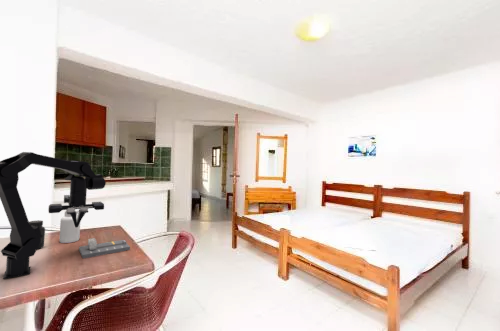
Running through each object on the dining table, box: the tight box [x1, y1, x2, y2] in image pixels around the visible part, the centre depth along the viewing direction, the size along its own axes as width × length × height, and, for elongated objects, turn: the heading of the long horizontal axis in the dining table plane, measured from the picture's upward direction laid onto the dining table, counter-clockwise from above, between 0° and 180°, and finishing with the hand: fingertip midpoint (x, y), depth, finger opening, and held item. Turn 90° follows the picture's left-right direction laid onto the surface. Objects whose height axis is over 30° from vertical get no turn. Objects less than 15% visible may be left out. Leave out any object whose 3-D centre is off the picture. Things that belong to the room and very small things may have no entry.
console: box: [78, 239, 131, 259], centre depth 107 cm, size 12×18×3 cm, turn 132°
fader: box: [87, 237, 98, 250], centre depth 104 cm, size 5×2×4 cm, turn 42°
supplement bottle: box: [29, 220, 46, 251], centre depth 105 cm, size 7×7×12 cm
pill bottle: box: [58, 209, 81, 244], centre depth 117 cm, size 8×8×15 cm
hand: (76, 227), depth 100 cm, fingers closed
